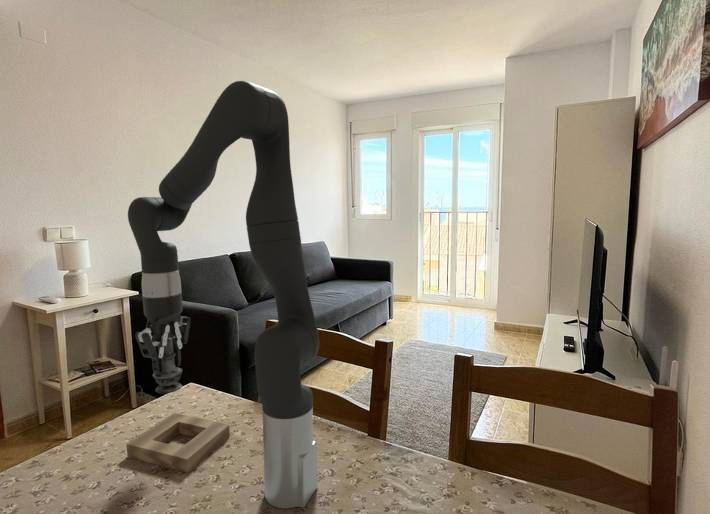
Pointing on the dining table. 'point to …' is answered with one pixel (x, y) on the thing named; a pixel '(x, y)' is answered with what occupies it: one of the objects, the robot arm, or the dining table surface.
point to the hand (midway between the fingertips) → (167, 369)
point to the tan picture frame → (179, 458)
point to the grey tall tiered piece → (168, 372)
